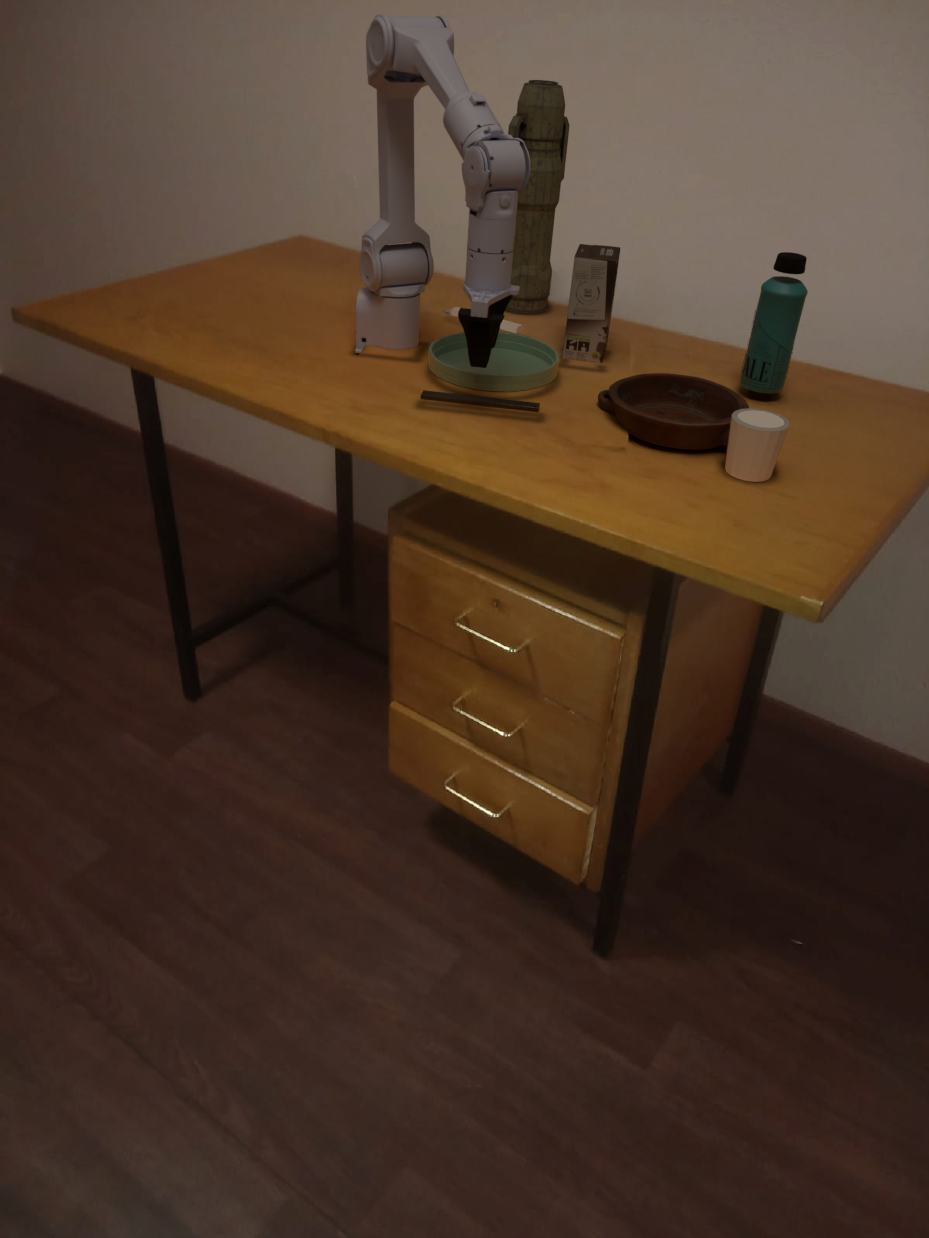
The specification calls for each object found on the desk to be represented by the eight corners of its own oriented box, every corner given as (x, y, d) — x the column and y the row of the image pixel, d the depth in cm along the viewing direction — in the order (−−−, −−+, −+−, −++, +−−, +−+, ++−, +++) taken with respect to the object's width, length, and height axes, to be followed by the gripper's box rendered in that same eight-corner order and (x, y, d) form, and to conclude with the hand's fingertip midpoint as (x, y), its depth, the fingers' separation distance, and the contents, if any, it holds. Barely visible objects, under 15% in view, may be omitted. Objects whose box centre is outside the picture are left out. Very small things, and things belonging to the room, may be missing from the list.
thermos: (563, 307, 170) (589, 84, 150) (519, 319, 163) (540, 86, 143) (527, 295, 175) (547, 77, 155) (482, 306, 168) (497, 79, 148)
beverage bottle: (782, 391, 141) (818, 251, 130) (779, 407, 136) (817, 263, 125) (738, 384, 143) (770, 245, 132) (733, 399, 138) (766, 256, 126)
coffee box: (602, 371, 144) (618, 261, 135) (560, 365, 145) (572, 256, 136) (607, 351, 152) (622, 246, 143) (567, 346, 153) (579, 241, 143)
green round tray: (417, 391, 133) (417, 367, 131) (440, 347, 149) (441, 325, 147) (551, 406, 132) (554, 382, 130) (560, 360, 147) (563, 338, 145)
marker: (441, 320, 163) (519, 341, 155) (435, 316, 161) (514, 337, 153) (446, 305, 162) (525, 325, 155) (440, 301, 160) (519, 321, 153)
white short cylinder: (712, 459, 120) (724, 406, 116) (765, 460, 121) (778, 407, 117) (729, 483, 115) (742, 429, 111) (784, 484, 115) (799, 430, 111)
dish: (622, 392, 138) (628, 358, 135) (772, 431, 129) (781, 396, 126) (569, 431, 125) (573, 395, 122) (731, 477, 116) (740, 439, 113)
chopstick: (537, 420, 127) (539, 407, 126) (420, 407, 129) (420, 394, 128) (538, 415, 129) (540, 402, 128) (422, 402, 130) (423, 390, 129)
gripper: (516, 266, 111) (506, 379, 118) (528, 237, 122) (518, 341, 130) (456, 260, 111) (450, 373, 119) (474, 232, 123) (467, 336, 131)
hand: (482, 356), depth 125 cm, fingers open, 7 cm apart
